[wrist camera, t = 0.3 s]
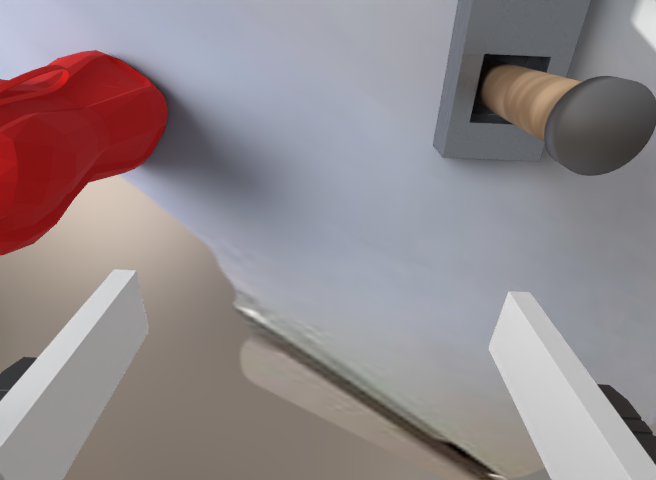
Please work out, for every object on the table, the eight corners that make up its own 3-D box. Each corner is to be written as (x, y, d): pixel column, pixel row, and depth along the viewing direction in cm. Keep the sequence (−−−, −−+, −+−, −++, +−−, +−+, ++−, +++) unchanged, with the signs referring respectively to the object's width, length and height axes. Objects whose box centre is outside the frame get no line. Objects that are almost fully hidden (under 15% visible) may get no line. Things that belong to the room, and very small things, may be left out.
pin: (470, 52, 35) (576, 77, 20) (527, 54, 35) (675, 82, 20) (458, 111, 38) (544, 173, 23) (511, 113, 38) (632, 177, 23)
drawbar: (491, -190, 28) (514, -219, 24) (617, -183, 28) (658, -212, 24) (432, 145, 39) (442, 157, 36) (521, 148, 40) (539, 161, 36)
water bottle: (193, 83, 37) (-7, 177, 15) (144, 172, 41) (-65, 344, 19) (97, 15, 34) (-315, 9, 12) (56, 118, 38) (-301, 247, 17)
